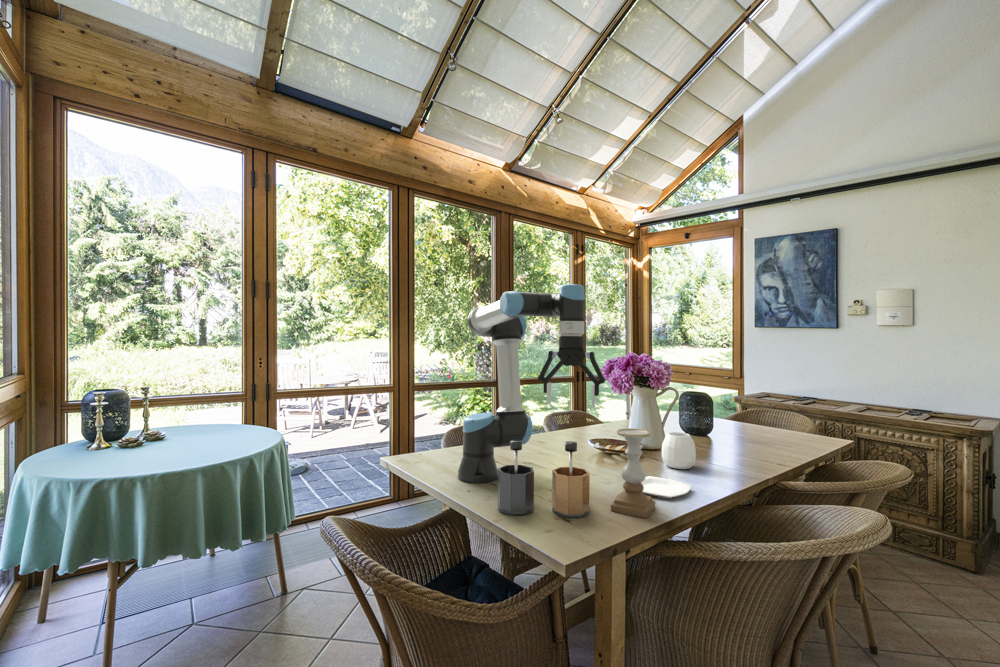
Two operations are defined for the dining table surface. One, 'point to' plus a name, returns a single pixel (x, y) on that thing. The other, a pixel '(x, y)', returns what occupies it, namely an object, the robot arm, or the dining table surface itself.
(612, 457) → the dining table surface
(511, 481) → the steel carafe
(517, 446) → the steel plunger
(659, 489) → the plate
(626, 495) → the candle holder
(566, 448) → the copper plunger
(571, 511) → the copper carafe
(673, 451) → the cup
